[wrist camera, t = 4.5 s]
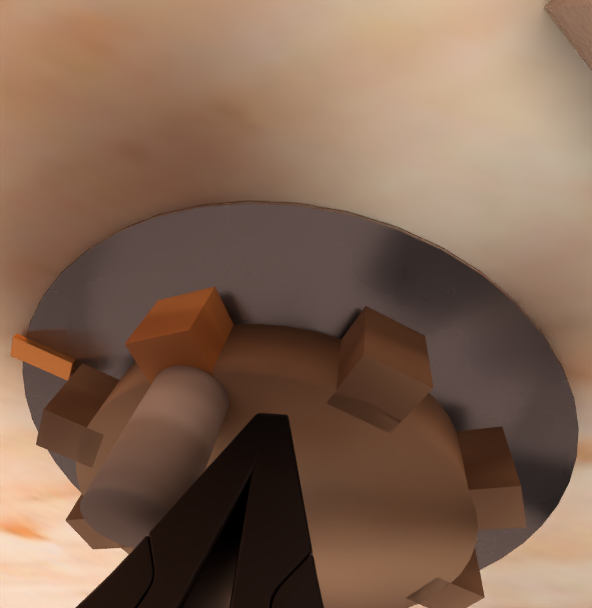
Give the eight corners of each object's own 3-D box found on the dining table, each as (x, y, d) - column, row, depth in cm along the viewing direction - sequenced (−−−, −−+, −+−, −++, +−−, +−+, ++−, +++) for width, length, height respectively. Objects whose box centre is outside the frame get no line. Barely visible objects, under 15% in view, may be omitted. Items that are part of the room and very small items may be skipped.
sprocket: (525, 578, 17) (580, 780, 12) (188, 584, 21) (138, 736, 17) (471, 224, 10) (550, 393, 5) (-14, 341, 14) (-191, 489, 10)
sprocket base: (513, 615, 20) (515, 625, 19) (114, 566, 23) (110, 574, 22) (677, 192, 10) (688, 199, 9) (-78, 207, 13) (-90, 212, 12)
